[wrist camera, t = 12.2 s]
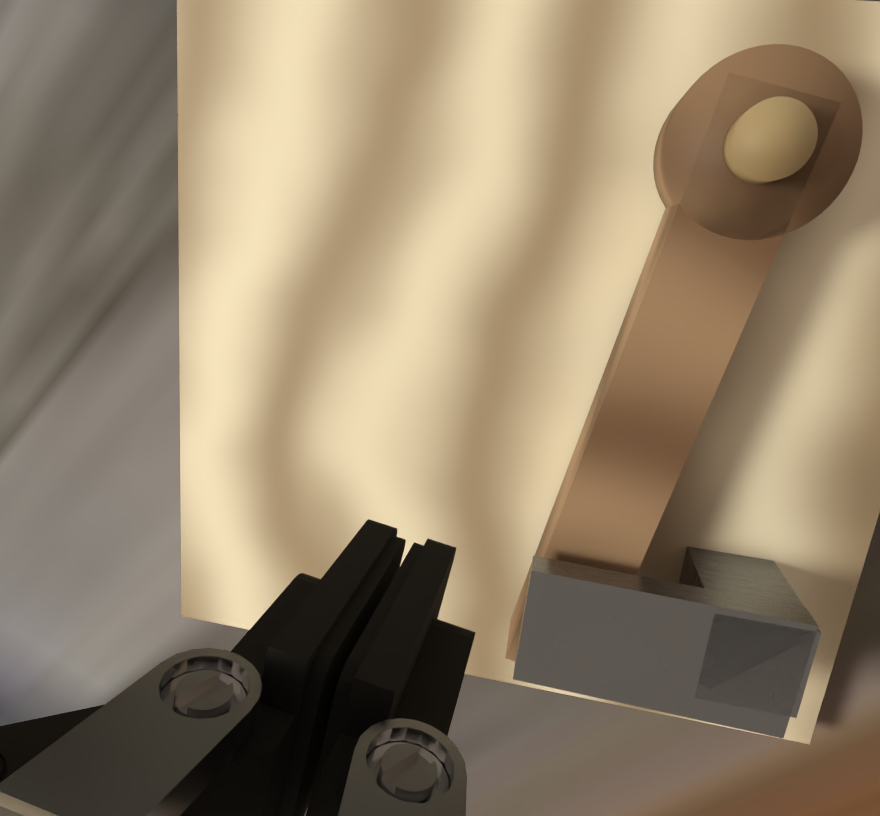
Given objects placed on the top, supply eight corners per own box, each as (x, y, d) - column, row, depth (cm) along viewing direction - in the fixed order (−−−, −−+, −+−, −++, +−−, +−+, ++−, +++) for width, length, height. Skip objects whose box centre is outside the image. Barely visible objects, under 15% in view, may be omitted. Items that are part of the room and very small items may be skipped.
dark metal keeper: (776, 552, 23) (824, 622, 19) (749, 651, 24) (790, 739, 20) (535, 512, 24) (529, 570, 20) (520, 608, 26) (512, 683, 21)
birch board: (998, 25, 20) (1032, 8, 18) (795, 716, 26) (809, 744, 25) (200, -14, 23) (176, -31, 22) (199, 597, 30) (181, 615, 29)
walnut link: (689, 48, 20) (717, 6, 16) (856, 93, 19) (922, 60, 16) (486, 610, 26) (473, 669, 22) (609, 655, 25) (617, 722, 22)
